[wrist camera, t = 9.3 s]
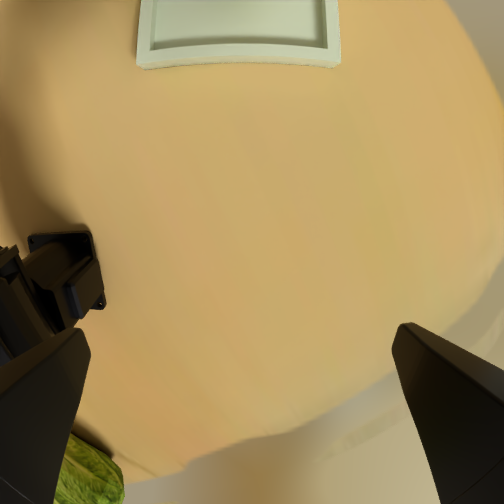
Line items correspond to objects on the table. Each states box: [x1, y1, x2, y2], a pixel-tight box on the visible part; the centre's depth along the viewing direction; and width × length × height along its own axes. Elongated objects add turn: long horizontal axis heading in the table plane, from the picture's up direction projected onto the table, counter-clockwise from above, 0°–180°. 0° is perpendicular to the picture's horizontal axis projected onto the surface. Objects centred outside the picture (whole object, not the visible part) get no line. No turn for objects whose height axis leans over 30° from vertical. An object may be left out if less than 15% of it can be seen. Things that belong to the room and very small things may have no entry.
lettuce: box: [53, 433, 125, 504], centre depth 24 cm, size 15×24×15 cm
